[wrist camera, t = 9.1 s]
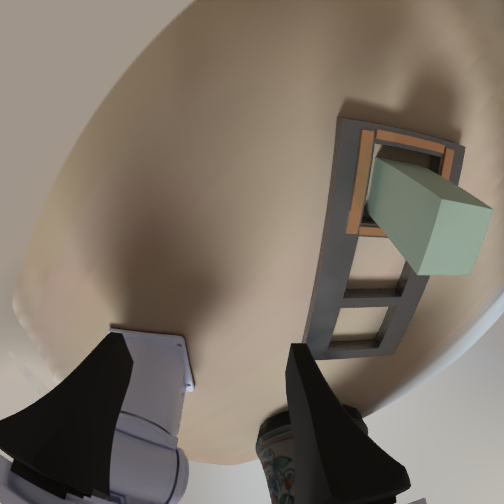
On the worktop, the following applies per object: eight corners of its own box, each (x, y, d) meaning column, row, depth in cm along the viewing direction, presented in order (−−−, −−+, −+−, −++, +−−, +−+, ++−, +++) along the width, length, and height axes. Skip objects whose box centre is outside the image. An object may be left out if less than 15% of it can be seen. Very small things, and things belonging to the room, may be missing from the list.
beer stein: (284, 451, 42) (289, 569, 21) (222, 414, 34) (212, 583, 12) (372, 425, 38) (396, 552, 16) (342, 378, 29) (376, 580, 8)
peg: (410, 215, 19) (469, 275, 12) (365, 210, 19) (417, 275, 12) (422, 165, 17) (493, 209, 10) (375, 156, 17) (441, 199, 10)
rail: (389, 345, 27) (393, 355, 25) (299, 351, 27) (301, 362, 25) (456, 143, 16) (467, 147, 15) (337, 116, 16) (343, 118, 15)
